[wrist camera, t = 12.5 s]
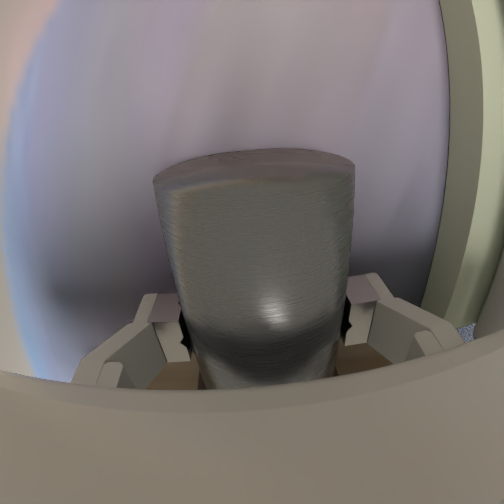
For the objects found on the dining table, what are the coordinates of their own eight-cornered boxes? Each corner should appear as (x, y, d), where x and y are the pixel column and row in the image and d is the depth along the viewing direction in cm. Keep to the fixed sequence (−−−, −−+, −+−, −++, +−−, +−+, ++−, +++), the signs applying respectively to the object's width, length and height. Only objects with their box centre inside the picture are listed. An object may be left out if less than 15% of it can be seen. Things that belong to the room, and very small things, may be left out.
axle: (313, 378, 15) (330, 458, 11) (222, 386, 15) (219, 467, 11) (324, 146, 9) (391, 186, 5) (176, 158, 9) (121, 208, 5)
